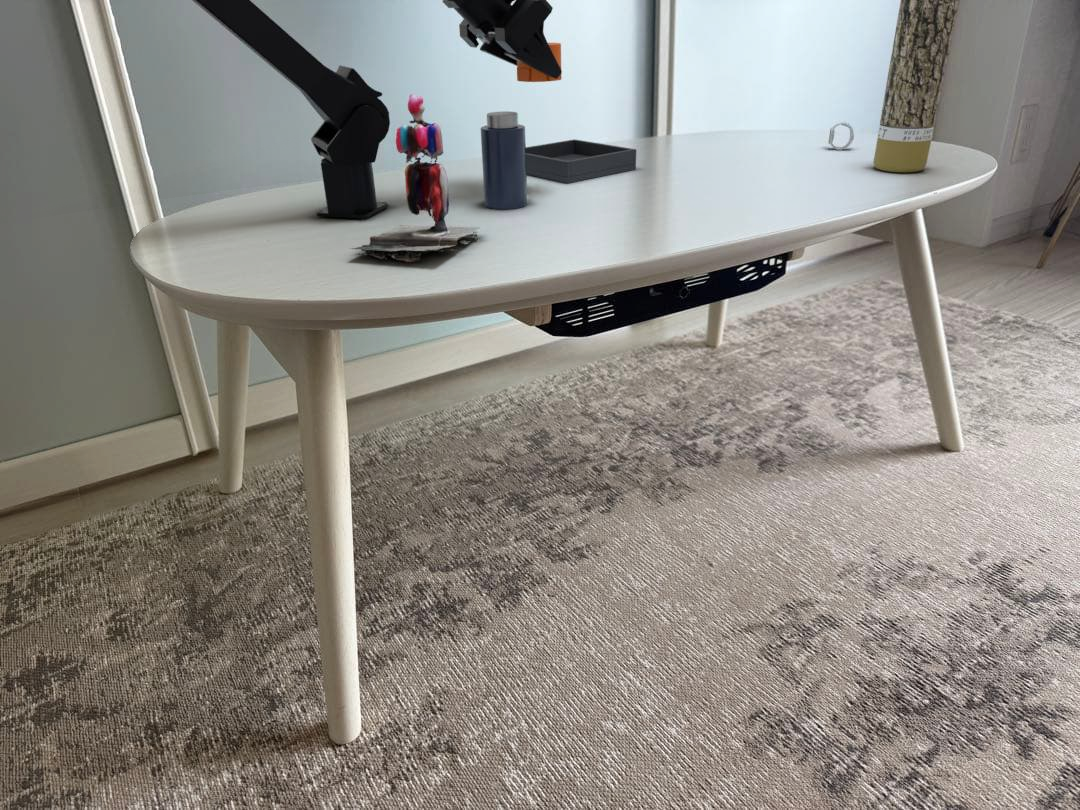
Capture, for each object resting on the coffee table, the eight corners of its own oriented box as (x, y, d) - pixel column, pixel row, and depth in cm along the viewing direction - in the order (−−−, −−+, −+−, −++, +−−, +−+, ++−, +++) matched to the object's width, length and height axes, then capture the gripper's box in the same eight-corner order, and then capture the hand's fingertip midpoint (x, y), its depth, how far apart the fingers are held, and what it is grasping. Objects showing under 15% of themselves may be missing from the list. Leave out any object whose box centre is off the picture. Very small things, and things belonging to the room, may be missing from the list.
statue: (402, 243, 85) (392, 96, 80) (481, 247, 83) (477, 94, 77) (349, 260, 76) (334, 93, 70) (437, 265, 73) (428, 92, 68)
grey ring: (852, 148, 123) (855, 121, 121) (852, 150, 121) (855, 123, 119) (827, 148, 124) (831, 121, 122) (827, 150, 122) (830, 123, 121)
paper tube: (929, 166, 109) (970, -39, 98) (920, 175, 104) (963, -40, 92) (878, 162, 112) (912, -37, 101) (867, 171, 107) (902, -38, 96)
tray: (567, 183, 105) (567, 162, 104) (507, 170, 114) (506, 150, 113) (636, 169, 112) (636, 149, 111) (574, 157, 122) (574, 139, 120)
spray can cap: (561, 81, 94) (561, 44, 92) (516, 82, 94) (515, 46, 92) (561, 77, 98) (560, 42, 96) (518, 78, 99) (517, 43, 97)
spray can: (520, 210, 92) (517, 116, 88) (478, 208, 94) (473, 116, 89) (532, 200, 97) (529, 110, 92) (492, 198, 98) (488, 110, 93)
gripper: (531, -95, 79) (626, 21, 88) (477, -79, 94) (562, 19, 103) (462, -5, 80) (563, 101, 89) (420, -4, 96) (509, 87, 104)
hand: (549, 73), depth 96 cm, fingers closed on spray can cap, 5 cm apart
